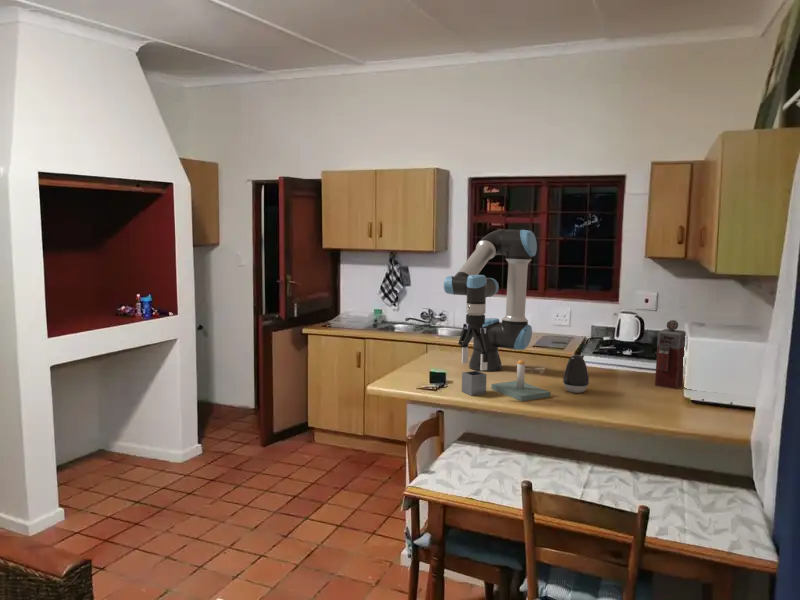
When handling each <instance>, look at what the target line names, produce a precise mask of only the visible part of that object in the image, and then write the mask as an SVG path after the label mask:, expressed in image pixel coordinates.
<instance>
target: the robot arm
mask: <svg viewBox="0 0 800 600" xmlns="http://www.w3.org/2000/svg"><path fill="white" fill-rule="evenodd" d="M537 243H538V242H537V239H536V235H535V233H534V232H533V231H532V230H526V229H496V230H494V231H492V232H490V233H488V234H486V235H485V236H483V237H482V238H481V239H480V240H479V241H478V243H477V244H476V246H475V249H474V250H473V252H472V253H471V254H470V256H469V257H468V259H467V260H466V261H465V262H464V264H463V265H462V266H461V267H460V269H459V270H458V271H457V272H456V274H454V276H453V275H451V276H449V275H448V276H446V277H445V278H444V281H443V290H444V292H445V293H446V294H449V295H457V296H466V306H465V307H466V310H465V311H466V313H467V314H466V315H465V323H463V327H462V331H461V334H460V336H459V340H458V345H459V346H460V348H461V364H468V367H469V368H470V369H471V370H473V371H479V372H495V371H496V372H497V371H500V370H501V369H502V361H501V357H500V353H499V348H501V349H511V350H515V351H516V350H519V351H524V350H526V349H527V348H528V347H529V345H530V342H531V340H532V335H533V329H532V328H533V327H532V325H530V324H529V320H528V318H526V301H527V286H528V285H527V284H528V283H527V282H528V267H529V266H528V265H529V264H530V262H531V261H532V259H533V258H532V257H535V256H536V254H537V250H538V245H537ZM498 255H499V256H505V258H504V259H505V260H506V262H507V263H508V266H507V283H506V301H505V302H506V303H505V315H504V317H503V318H502V319H501V321H500V318H498V317H489V318H486V308H487V307H486V302H487V301H486V299H487V298H488V297H489V298H491V297H493V296H494V295H496V294H497V293H498V292H499V288H500V286H499V282H498V281H497V280H496V279H495V278H492V277H486V275H485V274H480V273H481V271H482V269H484V268H485V266H486V265H487V263H488V262H489V260H492V259H493V258H495V256H498ZM471 340H473V342H472V344H473V345H472V352H471V356H470V360H469V348H470V347H469V344H470V342H471Z"/></svg>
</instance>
